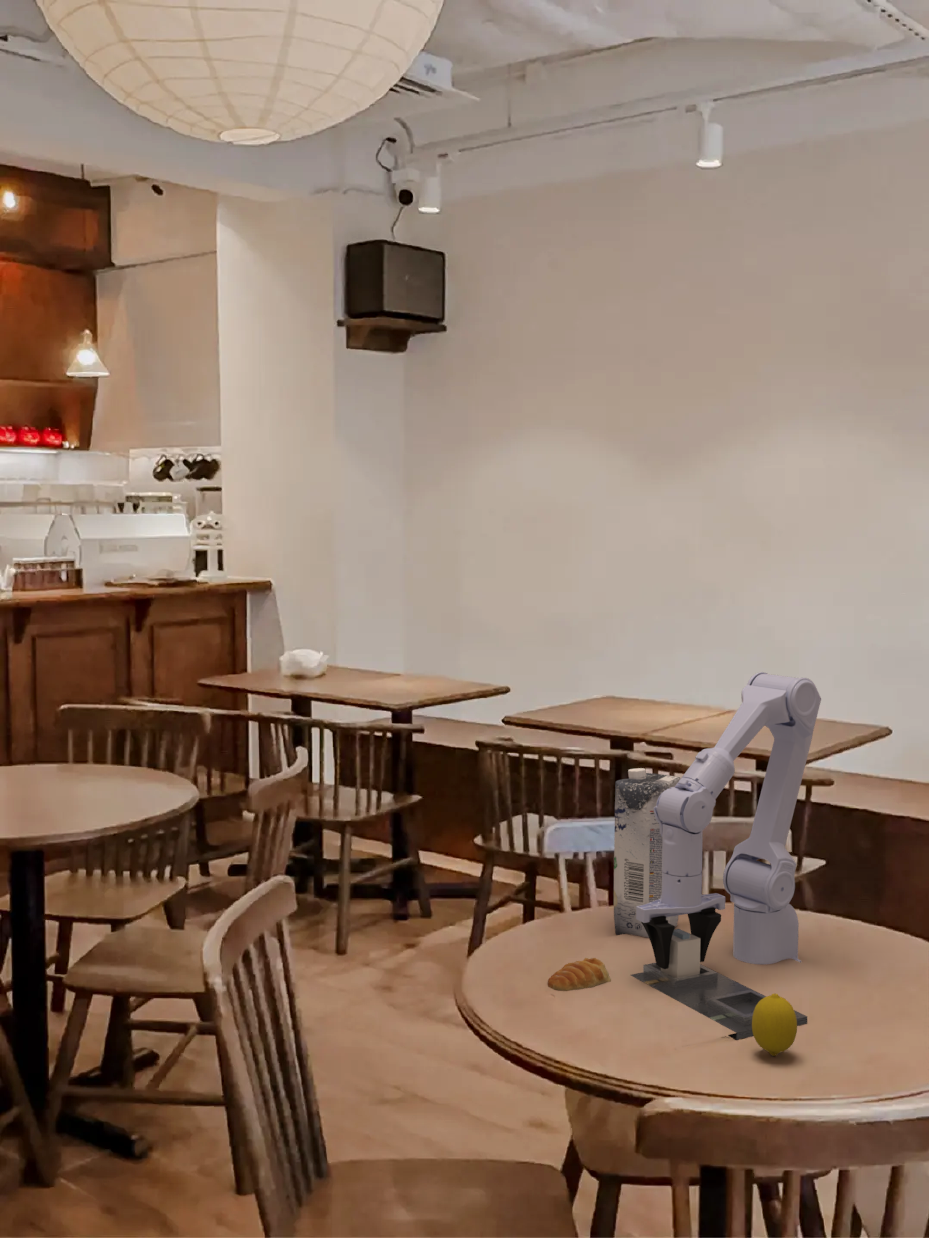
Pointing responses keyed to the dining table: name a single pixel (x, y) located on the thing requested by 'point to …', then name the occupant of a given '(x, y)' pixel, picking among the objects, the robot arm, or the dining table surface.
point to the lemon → (774, 1024)
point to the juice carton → (637, 848)
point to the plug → (683, 955)
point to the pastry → (579, 975)
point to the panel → (711, 997)
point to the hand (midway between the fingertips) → (680, 963)
